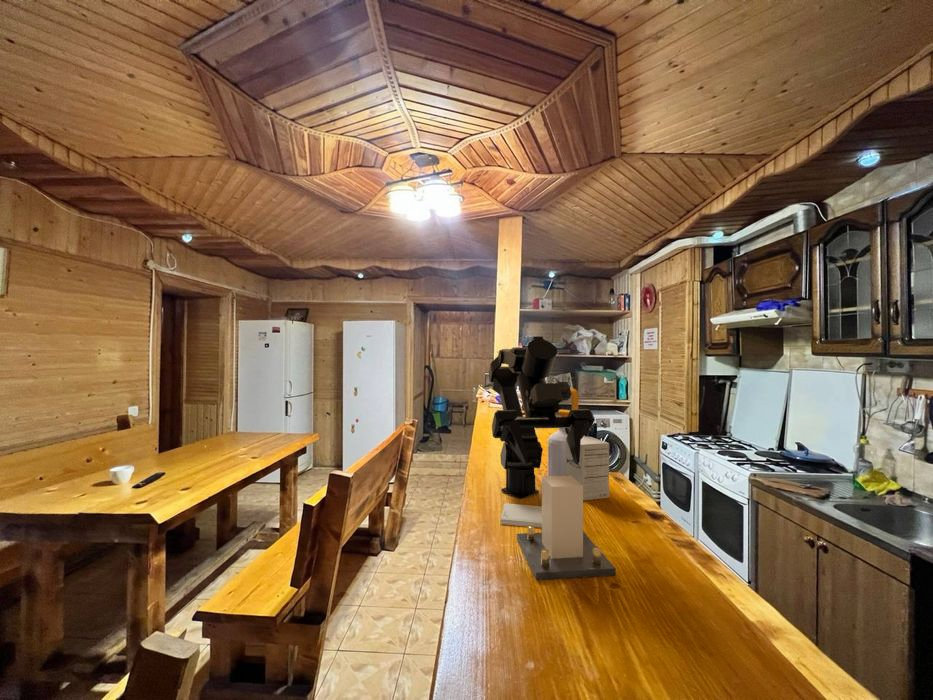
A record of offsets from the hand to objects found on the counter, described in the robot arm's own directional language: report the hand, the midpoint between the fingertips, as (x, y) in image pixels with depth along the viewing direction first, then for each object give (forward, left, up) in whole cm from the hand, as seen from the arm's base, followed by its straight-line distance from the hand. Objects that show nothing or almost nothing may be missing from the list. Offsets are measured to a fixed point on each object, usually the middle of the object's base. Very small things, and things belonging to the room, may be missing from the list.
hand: (552, 463), depth 66 cm
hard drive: (-9, +5, -14) cm, 17 cm away
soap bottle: (-20, +29, -14) cm, 38 cm away
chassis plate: (+4, -3, -13) cm, 14 cm away
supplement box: (-10, +24, -14) cm, 30 cm away
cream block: (+4, -3, -12) cm, 13 cm away
